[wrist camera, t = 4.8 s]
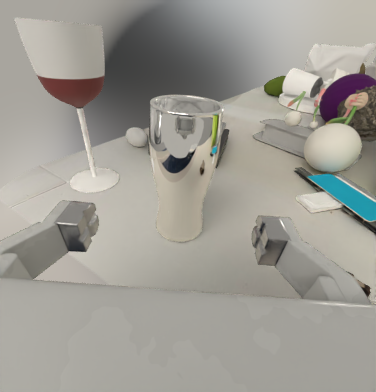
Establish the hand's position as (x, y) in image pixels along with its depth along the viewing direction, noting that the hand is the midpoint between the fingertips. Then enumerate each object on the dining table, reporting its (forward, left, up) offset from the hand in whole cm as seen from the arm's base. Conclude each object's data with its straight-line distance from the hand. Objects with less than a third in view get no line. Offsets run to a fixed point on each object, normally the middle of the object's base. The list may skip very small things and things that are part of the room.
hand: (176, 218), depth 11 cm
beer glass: (-3, +12, -12) cm, 17 cm away
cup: (+27, +98, -5) cm, 101 cm away
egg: (-19, +32, -12) cm, 39 cm away
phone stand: (+19, +25, -12) cm, 34 cm away
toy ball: (+38, +72, -3) cm, 81 cm away
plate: (+28, +98, -12) cm, 102 cm away
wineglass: (-19, +17, -12) cm, 28 cm away
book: (+18, +49, -12) cm, 54 cm away
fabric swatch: (+47, +112, -3) cm, 122 cm away
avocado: (+7, +110, -10) cm, 111 cm away
